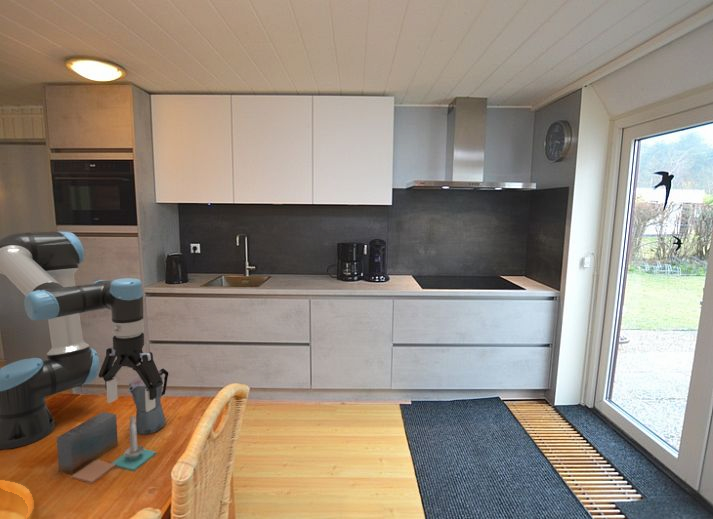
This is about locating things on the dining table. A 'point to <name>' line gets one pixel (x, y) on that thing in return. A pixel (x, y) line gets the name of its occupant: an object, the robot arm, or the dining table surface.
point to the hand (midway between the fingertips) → (131, 405)
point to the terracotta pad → (93, 471)
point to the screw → (133, 442)
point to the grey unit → (86, 442)
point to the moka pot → (145, 420)
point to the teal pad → (134, 464)
